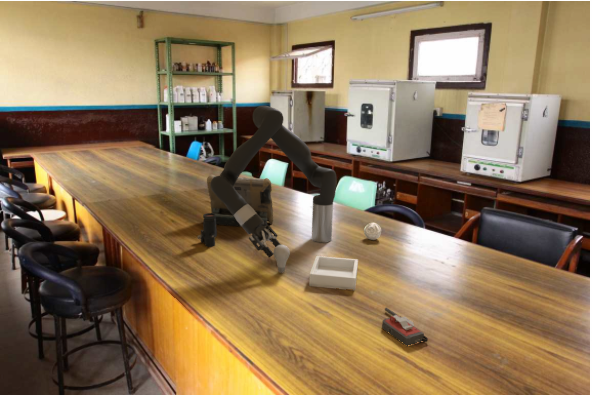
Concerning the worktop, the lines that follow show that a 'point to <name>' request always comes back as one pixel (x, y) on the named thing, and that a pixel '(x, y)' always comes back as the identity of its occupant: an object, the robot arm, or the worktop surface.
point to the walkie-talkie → (402, 329)
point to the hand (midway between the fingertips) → (276, 252)
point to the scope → (208, 230)
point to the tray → (334, 272)
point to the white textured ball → (372, 231)
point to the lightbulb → (281, 256)
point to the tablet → (252, 193)
